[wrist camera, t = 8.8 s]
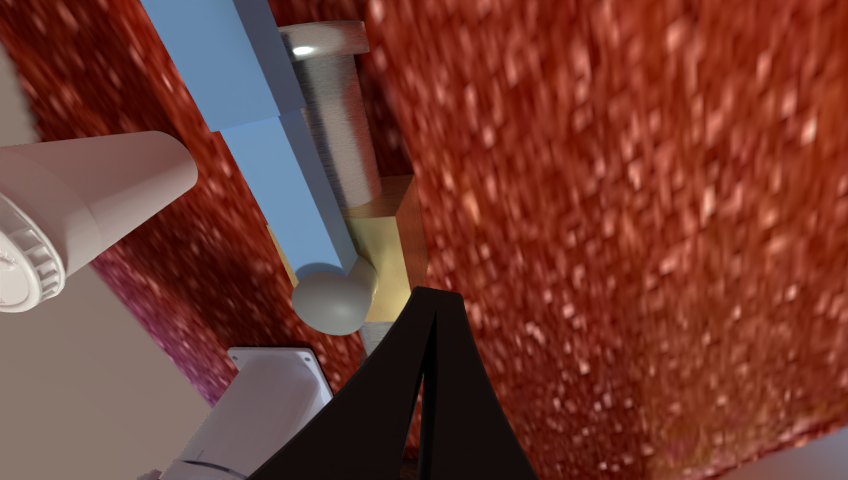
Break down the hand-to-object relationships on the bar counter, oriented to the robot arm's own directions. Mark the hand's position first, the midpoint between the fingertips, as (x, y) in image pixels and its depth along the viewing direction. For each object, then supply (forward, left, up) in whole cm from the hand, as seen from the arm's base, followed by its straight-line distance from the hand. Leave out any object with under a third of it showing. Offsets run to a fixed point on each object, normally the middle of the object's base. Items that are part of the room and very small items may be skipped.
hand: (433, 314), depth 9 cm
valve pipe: (-2, +5, -10) cm, 11 cm away
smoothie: (+3, +17, -10) cm, 20 cm away
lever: (+3, +5, -5) cm, 8 cm away
